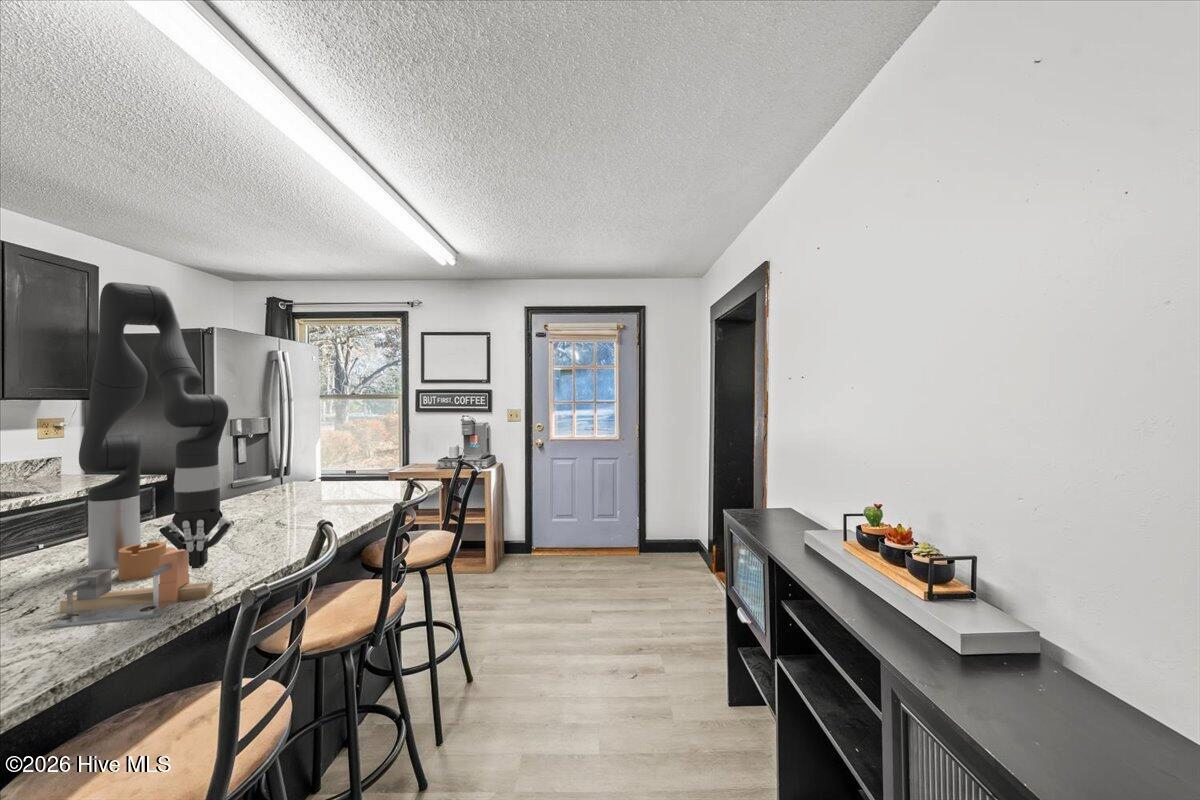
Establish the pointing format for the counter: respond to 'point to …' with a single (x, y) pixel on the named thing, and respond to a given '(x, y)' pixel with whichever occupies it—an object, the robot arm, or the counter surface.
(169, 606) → the strip
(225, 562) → the counter surface
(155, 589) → the block
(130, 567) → the bracket
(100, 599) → the trammel bar
